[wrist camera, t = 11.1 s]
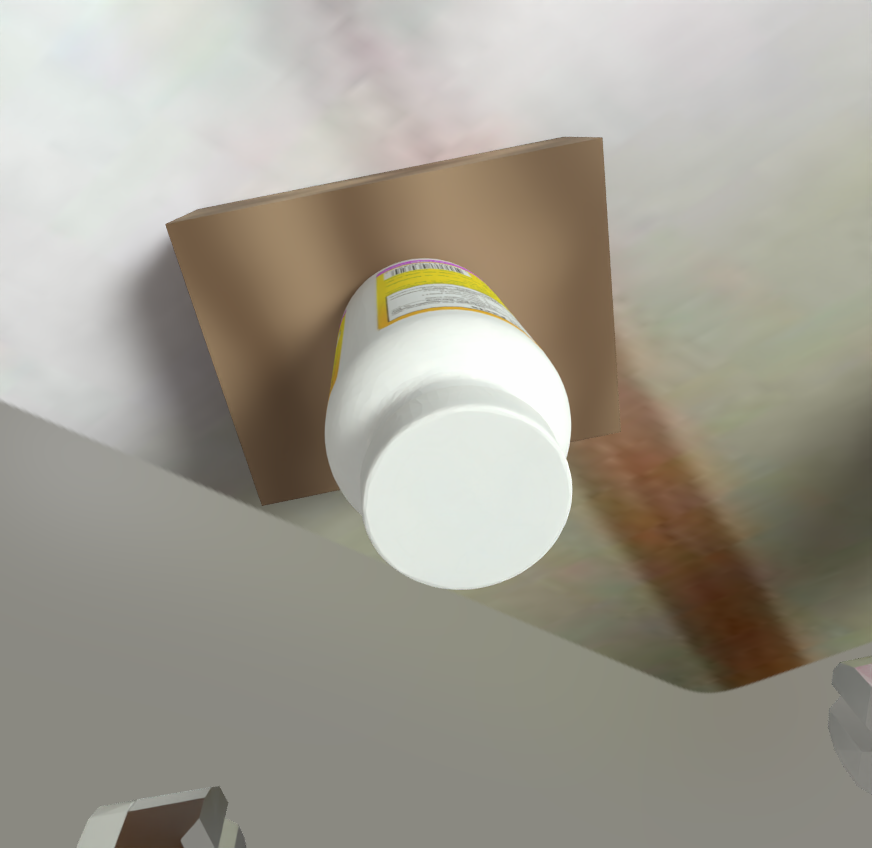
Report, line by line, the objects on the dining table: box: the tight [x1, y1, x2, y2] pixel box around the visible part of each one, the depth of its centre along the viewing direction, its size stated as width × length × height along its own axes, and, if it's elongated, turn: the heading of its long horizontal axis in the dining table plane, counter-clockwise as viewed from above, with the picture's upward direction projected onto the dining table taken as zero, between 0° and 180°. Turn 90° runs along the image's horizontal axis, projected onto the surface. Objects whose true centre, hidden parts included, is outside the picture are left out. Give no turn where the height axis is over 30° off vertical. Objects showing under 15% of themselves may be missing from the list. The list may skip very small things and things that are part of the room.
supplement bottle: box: [325, 258, 572, 590], centre depth 20 cm, size 7×7×13 cm
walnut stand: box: [165, 137, 621, 506], centre depth 28 cm, size 16×12×5 cm
